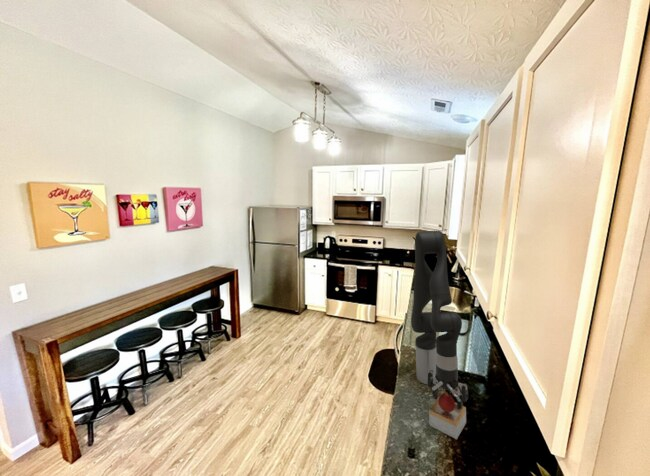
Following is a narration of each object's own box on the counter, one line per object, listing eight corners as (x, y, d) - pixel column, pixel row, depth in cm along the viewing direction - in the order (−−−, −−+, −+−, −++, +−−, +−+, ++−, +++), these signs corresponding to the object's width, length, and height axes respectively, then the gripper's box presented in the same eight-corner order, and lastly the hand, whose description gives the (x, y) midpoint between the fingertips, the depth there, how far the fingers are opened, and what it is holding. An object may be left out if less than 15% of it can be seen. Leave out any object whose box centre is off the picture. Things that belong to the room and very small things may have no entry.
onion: (436, 412, 105) (435, 393, 104) (442, 404, 109) (441, 385, 108) (451, 420, 101) (451, 400, 100) (457, 411, 105) (457, 391, 104)
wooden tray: (443, 406, 115) (442, 391, 114) (468, 418, 108) (468, 402, 107) (429, 425, 106) (429, 409, 105) (456, 439, 99) (456, 423, 98)
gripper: (470, 365, 100) (470, 406, 102) (432, 353, 110) (433, 390, 112) (463, 376, 95) (463, 418, 97) (423, 361, 105) (424, 400, 107)
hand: (447, 403), depth 105 cm, fingers open, 8 cm apart
